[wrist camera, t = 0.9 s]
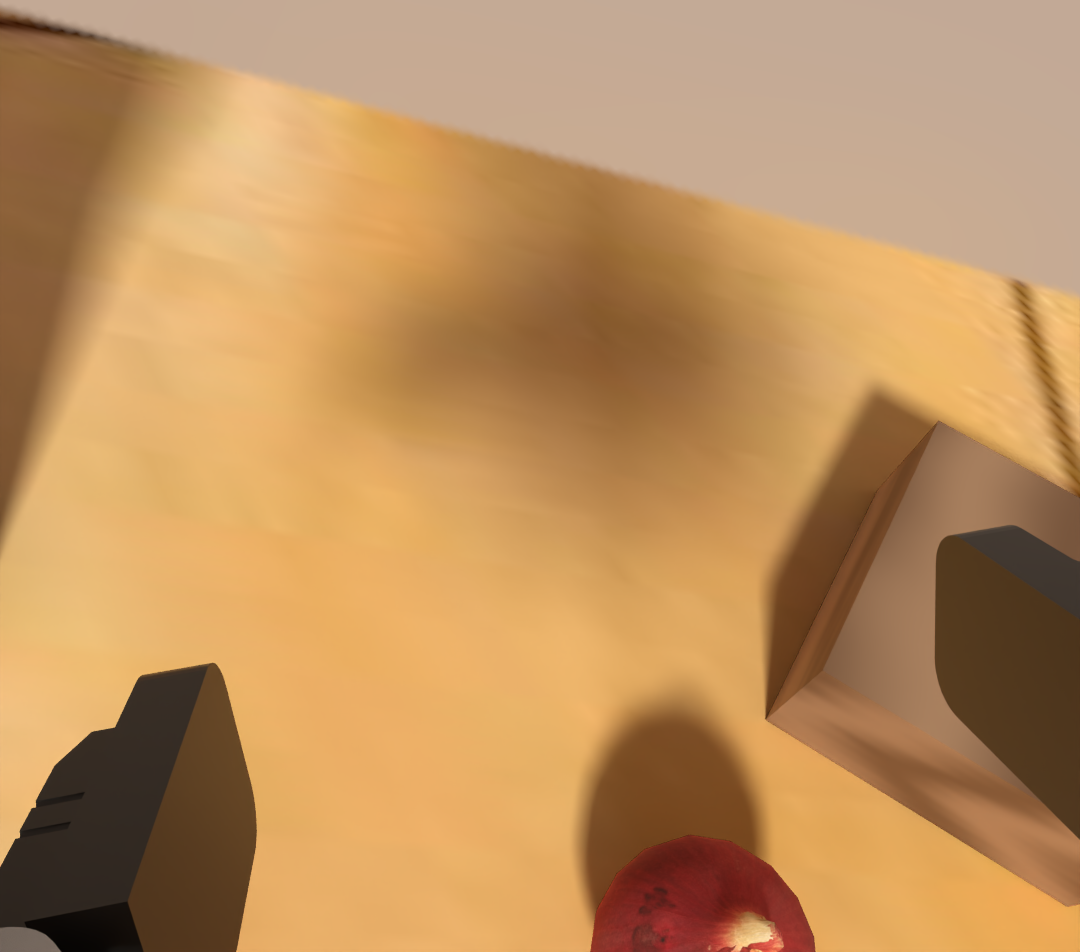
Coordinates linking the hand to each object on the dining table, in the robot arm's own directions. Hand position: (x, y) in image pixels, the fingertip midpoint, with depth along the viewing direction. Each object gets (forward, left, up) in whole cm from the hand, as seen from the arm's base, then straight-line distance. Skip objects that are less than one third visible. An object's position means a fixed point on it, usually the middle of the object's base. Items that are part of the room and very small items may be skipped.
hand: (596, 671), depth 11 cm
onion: (+6, +2, -22) cm, 23 cm away
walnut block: (+11, +16, -21) cm, 29 cm away
